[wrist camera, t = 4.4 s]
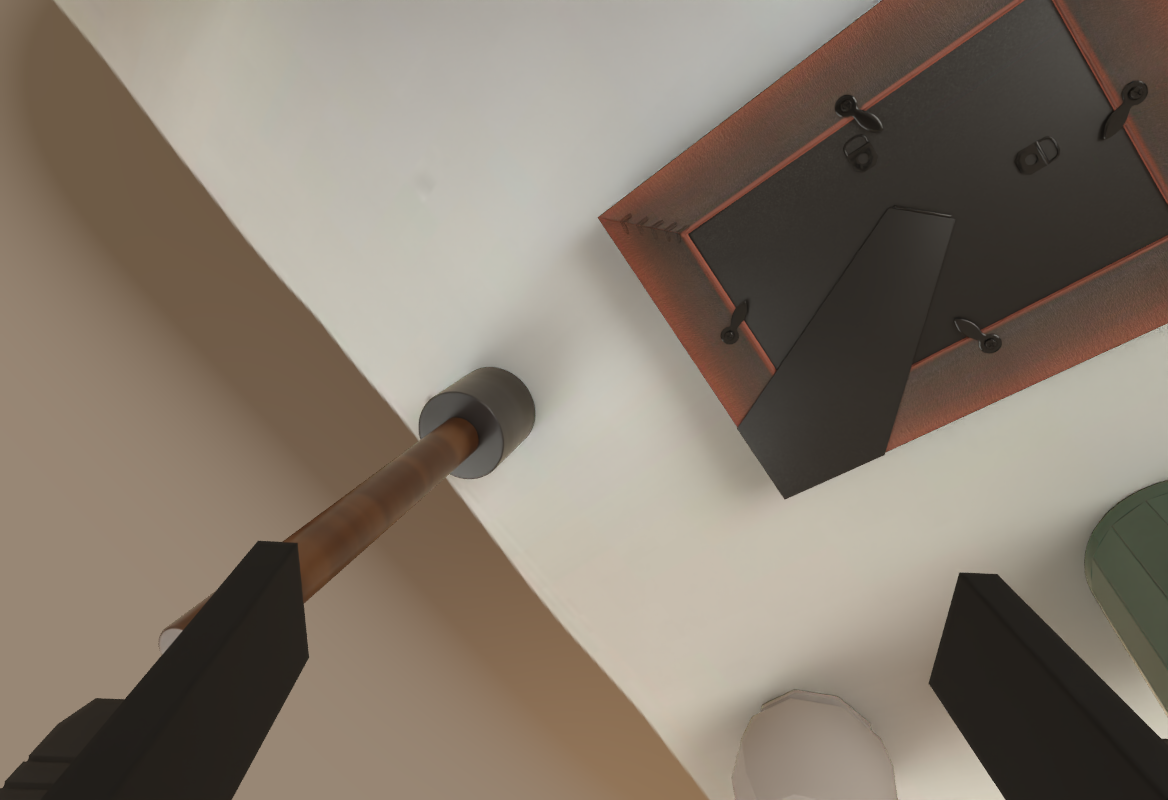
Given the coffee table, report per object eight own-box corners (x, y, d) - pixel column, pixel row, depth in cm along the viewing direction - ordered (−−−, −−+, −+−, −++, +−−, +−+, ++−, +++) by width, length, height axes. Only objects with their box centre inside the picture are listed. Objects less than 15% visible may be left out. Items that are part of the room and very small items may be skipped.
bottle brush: (482, 349, 39) (143, 554, 19) (551, 402, 39) (279, 664, 19) (443, 411, 41) (105, 652, 22) (508, 462, 41) (226, 752, 21)
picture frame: (786, 478, 36) (1287, 243, 26) (784, 501, 34) (1330, 252, 24) (610, 212, 34) (1079, -143, 25) (595, 216, 32) (1106, -172, 22)
